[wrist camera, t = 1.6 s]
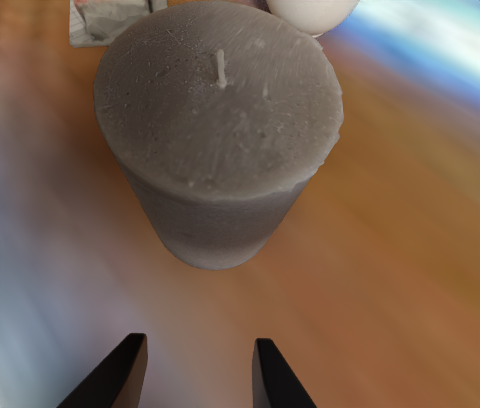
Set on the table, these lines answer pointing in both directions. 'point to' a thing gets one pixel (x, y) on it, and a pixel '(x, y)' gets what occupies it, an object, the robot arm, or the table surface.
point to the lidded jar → (312, 13)
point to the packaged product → (106, 19)
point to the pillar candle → (216, 123)
